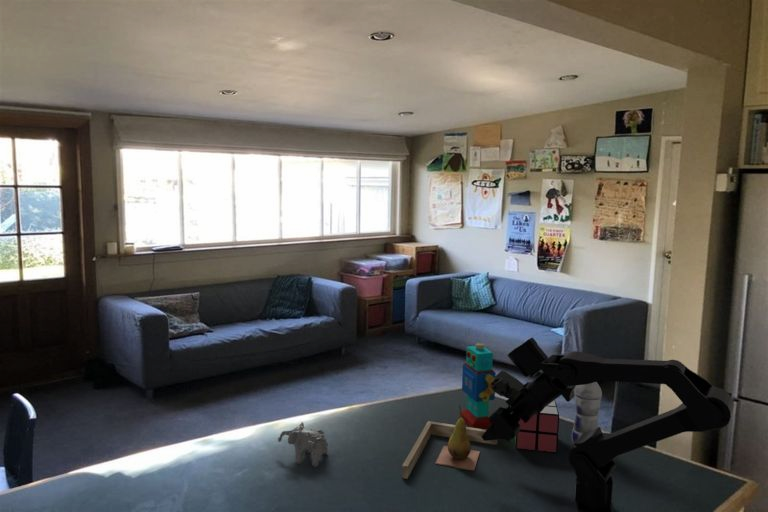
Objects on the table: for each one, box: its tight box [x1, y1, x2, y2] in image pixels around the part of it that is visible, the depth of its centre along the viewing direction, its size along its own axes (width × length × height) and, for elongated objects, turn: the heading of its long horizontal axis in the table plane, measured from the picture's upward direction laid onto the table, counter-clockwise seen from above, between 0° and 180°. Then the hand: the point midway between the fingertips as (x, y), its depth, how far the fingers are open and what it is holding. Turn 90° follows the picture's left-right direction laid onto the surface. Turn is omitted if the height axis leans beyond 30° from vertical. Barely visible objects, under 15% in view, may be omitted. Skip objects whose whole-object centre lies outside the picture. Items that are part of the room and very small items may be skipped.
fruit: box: [447, 404, 472, 460], centre depth 131 cm, size 6×6×12 cm
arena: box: [401, 420, 498, 480], centre depth 131 cm, size 18×24×3 cm
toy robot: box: [459, 334, 497, 430], centre depth 149 cm, size 12×6×25 cm, turn 17°
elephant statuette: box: [277, 421, 329, 468], centre depth 130 cm, size 9×12×8 cm
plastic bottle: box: [570, 382, 603, 447], centre depth 136 cm, size 6×7×20 cm
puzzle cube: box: [514, 399, 560, 453], centre depth 140 cm, size 10×10×10 cm
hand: (490, 430), depth 125 cm, fingers open, 9 cm apart
